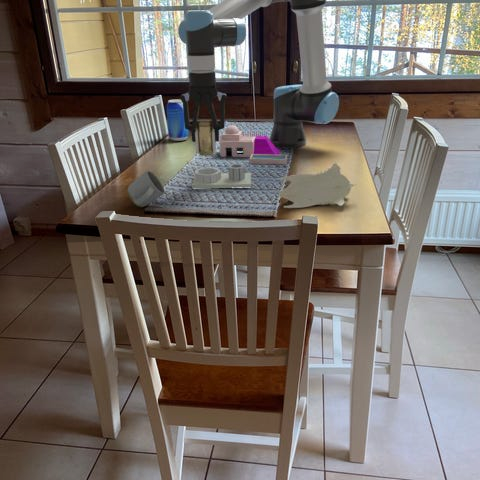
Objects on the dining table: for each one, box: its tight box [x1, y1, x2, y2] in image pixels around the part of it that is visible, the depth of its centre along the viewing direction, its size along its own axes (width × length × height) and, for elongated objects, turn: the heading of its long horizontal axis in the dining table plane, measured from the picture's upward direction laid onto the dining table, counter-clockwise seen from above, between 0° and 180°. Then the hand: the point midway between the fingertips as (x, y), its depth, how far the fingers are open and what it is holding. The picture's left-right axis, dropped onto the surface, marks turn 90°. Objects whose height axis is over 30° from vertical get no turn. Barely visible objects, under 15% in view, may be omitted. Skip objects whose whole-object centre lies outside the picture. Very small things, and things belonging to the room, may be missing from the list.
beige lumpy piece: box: [278, 162, 358, 209], centre depth 129 cm, size 22×12×12 cm, turn 94°
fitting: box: [196, 119, 215, 157], centre depth 140 cm, size 4×4×10 cm
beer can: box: [166, 98, 190, 142], centre depth 196 cm, size 8×8×16 cm
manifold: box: [191, 163, 252, 189], centre depth 145 cm, size 18×11×6 cm, turn 89°
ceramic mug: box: [126, 170, 166, 208], centre depth 127 cm, size 11×8×8 cm
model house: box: [219, 124, 288, 165], centre depth 170 cm, size 25×17×11 cm
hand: (206, 151), depth 142 cm, fingers closed on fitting, 4 cm apart
